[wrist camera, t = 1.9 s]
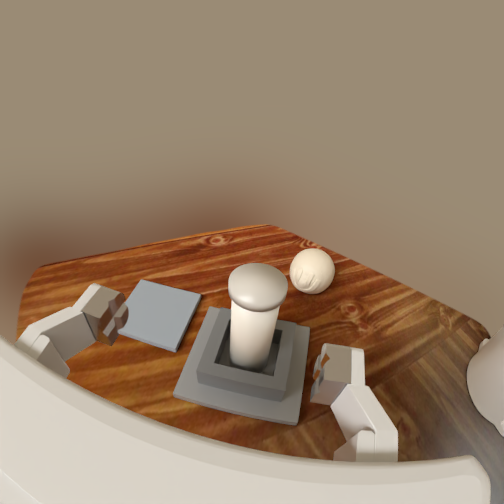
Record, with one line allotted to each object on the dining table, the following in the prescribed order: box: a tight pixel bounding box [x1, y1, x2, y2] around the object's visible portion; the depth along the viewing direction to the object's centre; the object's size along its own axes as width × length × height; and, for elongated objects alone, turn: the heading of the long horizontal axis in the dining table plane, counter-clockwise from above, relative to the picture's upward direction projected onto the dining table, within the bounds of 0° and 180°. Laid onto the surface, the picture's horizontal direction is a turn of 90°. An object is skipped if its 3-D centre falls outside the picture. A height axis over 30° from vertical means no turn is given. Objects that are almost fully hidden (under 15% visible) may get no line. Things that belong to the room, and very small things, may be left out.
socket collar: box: [173, 307, 310, 426], centre depth 33 cm, size 14×14×4 cm
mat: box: [118, 280, 201, 352], centre depth 39 cm, size 10×10×1 cm
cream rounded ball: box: [290, 249, 335, 294], centre depth 44 cm, size 7×7×7 cm
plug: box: [228, 263, 288, 373], centre depth 30 cm, size 5×5×13 cm
